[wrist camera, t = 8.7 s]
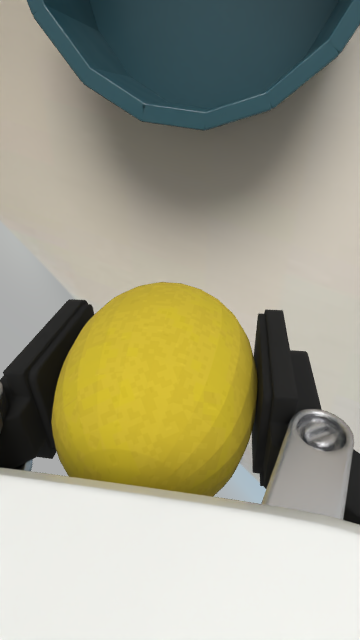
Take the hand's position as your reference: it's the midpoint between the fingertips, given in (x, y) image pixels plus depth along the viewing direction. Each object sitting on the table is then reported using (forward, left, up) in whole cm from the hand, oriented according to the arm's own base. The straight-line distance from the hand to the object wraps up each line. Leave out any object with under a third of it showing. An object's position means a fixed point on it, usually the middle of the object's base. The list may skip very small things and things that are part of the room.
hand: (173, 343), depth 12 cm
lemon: (0, 0, -2) cm, 2 cm away
